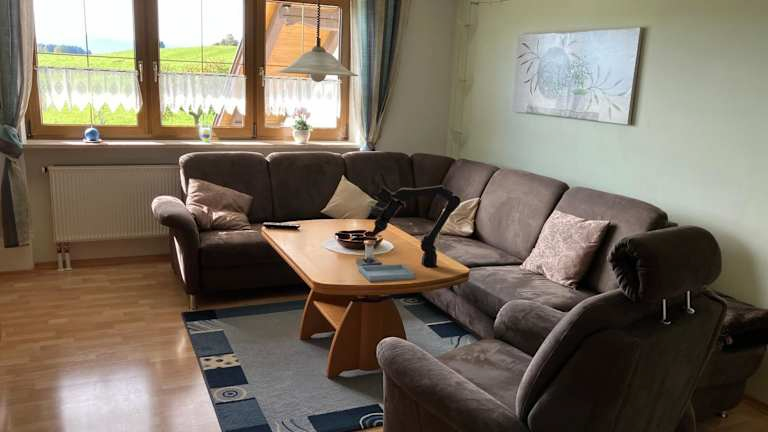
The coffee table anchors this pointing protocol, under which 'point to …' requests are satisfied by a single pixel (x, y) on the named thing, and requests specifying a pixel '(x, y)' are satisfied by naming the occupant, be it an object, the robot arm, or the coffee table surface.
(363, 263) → the block
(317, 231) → the coffee table surface
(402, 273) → the tray
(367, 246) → the pin
